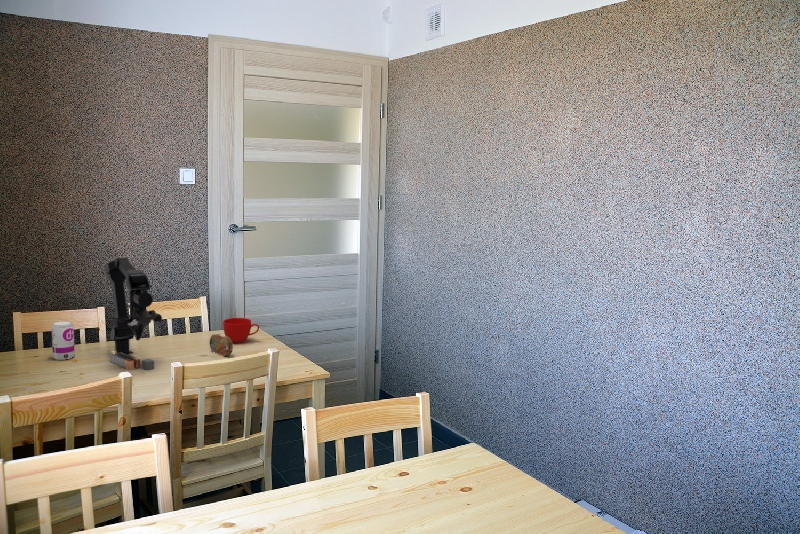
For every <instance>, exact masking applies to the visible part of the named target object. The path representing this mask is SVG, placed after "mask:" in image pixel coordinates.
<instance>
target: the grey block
mask: <svg viewBox="0 0 800 534" xmlns="http://www.w3.org/2000/svg"><path fill="white" fill-rule="evenodd" d="M141 368H142V369H144V370H146V371H149V370H153V369H155V361H154V360H152V359H150V358H146V359H142V360H141Z"/></svg>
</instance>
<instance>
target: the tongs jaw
mask: <svg viewBox="0 0 800 534" xmlns="http://www.w3.org/2000/svg"><path fill="white" fill-rule="evenodd" d="M117 354H118V355H121V356H123V357H126V358H128V359H131V360H133V361H134V369H138V368H141V358H139V357H135V356H134V355H130V354H129V353H128V354H125V353H123V352H119V353H117Z"/></svg>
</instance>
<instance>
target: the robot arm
mask: <svg viewBox="0 0 800 534" xmlns="http://www.w3.org/2000/svg"><path fill="white" fill-rule="evenodd" d="M104 271H105V274H106V277H107V280H108V281H109V282H110V283H111V285H112V294H113V303H114V312H115V317H114V318H112V320H111V326H112V328H111V330H110V333H109V337H110V340H111V341H113V342H114V350H116V351H117V353H119V352H123V353H125V354H128V355H129V354H132V353H133V352H134V351H133V350H130V340H132V339H133V340H134V338H135V339H136V340H135V341H140V339H141V337H142V334H143V331H144V329H145V327H146V326H149V324H151V322H152V321H153V322H155V323H157V322H159V323H160V322H163V317H162V315H161V314H160V313H157V312H156V311H155V309H152V310H147V308H148V307H150V306H151V305H152V304H153V302H154V301H153V300H154V298H153V296H152V295H151V294H150V293H149V291H148V290H151V283H150V281H149V278H148V277H147V275H146V273H145V271H142V270H139V269H136V268H135V267H134V266H133V264H132V263H131V262H130V260H129V258H128V257H125V256H124V257H116V258H114V260H112V261H110V262H108V263H107V264H106V265H105V269H104ZM124 283H125V284H126V286H127V289H128V292H129V294H128V298H129V302H128V303H129V304H128V306H127V301H126V291H125V284H124ZM127 308H128V309H129V314H128V310H127Z"/></svg>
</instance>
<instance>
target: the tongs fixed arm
mask: <svg viewBox="0 0 800 534" xmlns="http://www.w3.org/2000/svg"><path fill="white" fill-rule="evenodd" d="M109 351H110V353H109V362H110V363H113V364H115V365H117V366H119V367H121V368H124V369H127V370H129V371H132V370H134V369H135V367H134V361H133V360H131V359H128V358H126V357H123V356H121V355H118V354H117V351H116V350H115V349H113V350H109Z"/></svg>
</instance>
